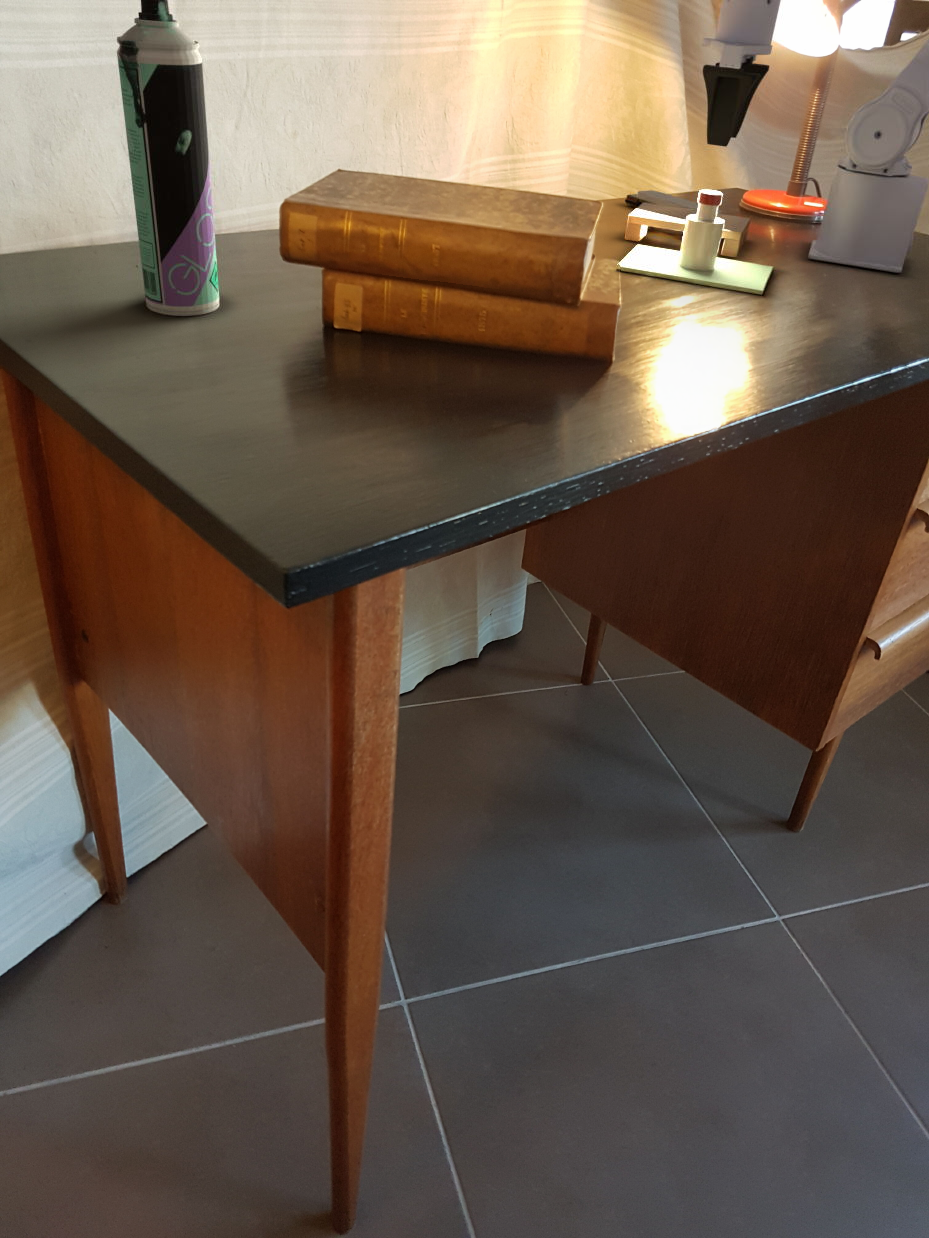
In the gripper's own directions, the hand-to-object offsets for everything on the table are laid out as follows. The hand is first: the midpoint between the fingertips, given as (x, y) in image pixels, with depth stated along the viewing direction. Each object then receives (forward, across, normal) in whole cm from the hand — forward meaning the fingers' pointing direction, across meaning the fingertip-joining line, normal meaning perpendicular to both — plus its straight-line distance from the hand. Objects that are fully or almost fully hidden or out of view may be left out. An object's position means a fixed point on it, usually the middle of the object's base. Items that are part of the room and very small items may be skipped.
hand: (722, 141), depth 103 cm
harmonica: (+10, -5, -4) cm, 12 cm away
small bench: (+9, +6, -1) cm, 11 cm away
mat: (+9, +18, +2) cm, 20 cm away
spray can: (+10, +55, -32) cm, 64 cm away
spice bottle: (+9, +18, +2) cm, 20 cm away
